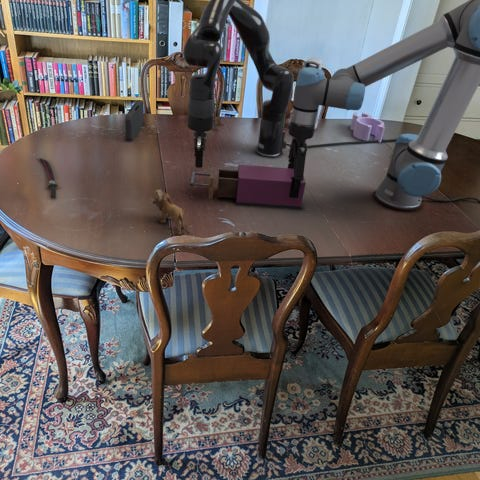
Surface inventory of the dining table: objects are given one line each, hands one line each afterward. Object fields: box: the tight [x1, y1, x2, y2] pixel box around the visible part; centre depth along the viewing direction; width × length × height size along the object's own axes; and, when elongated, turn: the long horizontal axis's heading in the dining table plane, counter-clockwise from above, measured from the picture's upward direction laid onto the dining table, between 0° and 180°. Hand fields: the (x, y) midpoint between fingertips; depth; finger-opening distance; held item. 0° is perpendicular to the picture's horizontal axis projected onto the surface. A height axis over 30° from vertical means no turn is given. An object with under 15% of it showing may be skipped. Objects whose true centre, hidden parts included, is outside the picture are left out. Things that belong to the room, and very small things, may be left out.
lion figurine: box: [149, 189, 191, 236], centre depth 131 cm, size 15×5×9 cm, turn 50°
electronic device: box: [287, 57, 324, 130], centre depth 207 cm, size 12×8×30 cm, turn 71°
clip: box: [349, 111, 386, 143], centre depth 214 cm, size 20×12×7 cm, turn 11°
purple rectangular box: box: [235, 164, 307, 210], centre depth 150 cm, size 21×10×9 cm, turn 91°
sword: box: [40, 158, 59, 198], centre depth 151 cm, size 31×3×1 cm, turn 26°
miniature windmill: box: [201, 67, 221, 131], centre depth 198 cm, size 9×8×30 cm
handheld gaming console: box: [124, 99, 145, 141], centre depth 189 cm, size 23×3×10 cm, turn 178°
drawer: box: [189, 165, 238, 200], centre depth 150 cm, size 26×9×7 cm, turn 91°
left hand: (198, 166), depth 146 cm, fingers closed
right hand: (291, 189), depth 151 cm, fingers closed on purple rectangular box, 10 cm apart
